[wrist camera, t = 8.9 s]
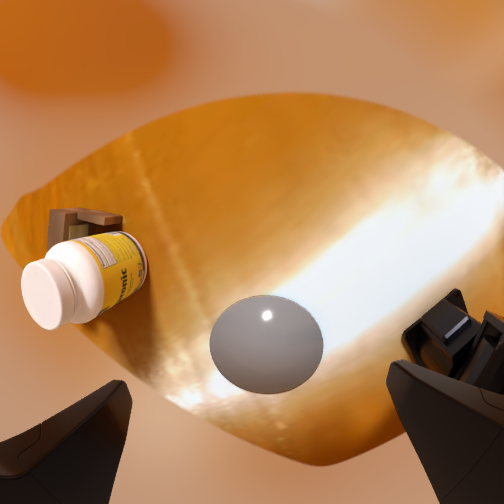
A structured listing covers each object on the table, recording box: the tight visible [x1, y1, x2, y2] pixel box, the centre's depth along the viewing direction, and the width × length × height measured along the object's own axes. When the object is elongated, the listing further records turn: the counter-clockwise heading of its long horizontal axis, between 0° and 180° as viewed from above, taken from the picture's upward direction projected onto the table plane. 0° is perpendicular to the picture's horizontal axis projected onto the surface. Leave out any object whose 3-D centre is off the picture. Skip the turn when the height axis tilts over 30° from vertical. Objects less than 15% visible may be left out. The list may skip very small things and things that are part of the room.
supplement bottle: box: [21, 231, 147, 330], centre depth 16 cm, size 5×5×10 cm
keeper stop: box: [47, 208, 122, 253], centre depth 19 cm, size 5×8×4 cm, turn 168°
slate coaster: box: [210, 295, 323, 393], centre depth 21 cm, size 9×9×1 cm
